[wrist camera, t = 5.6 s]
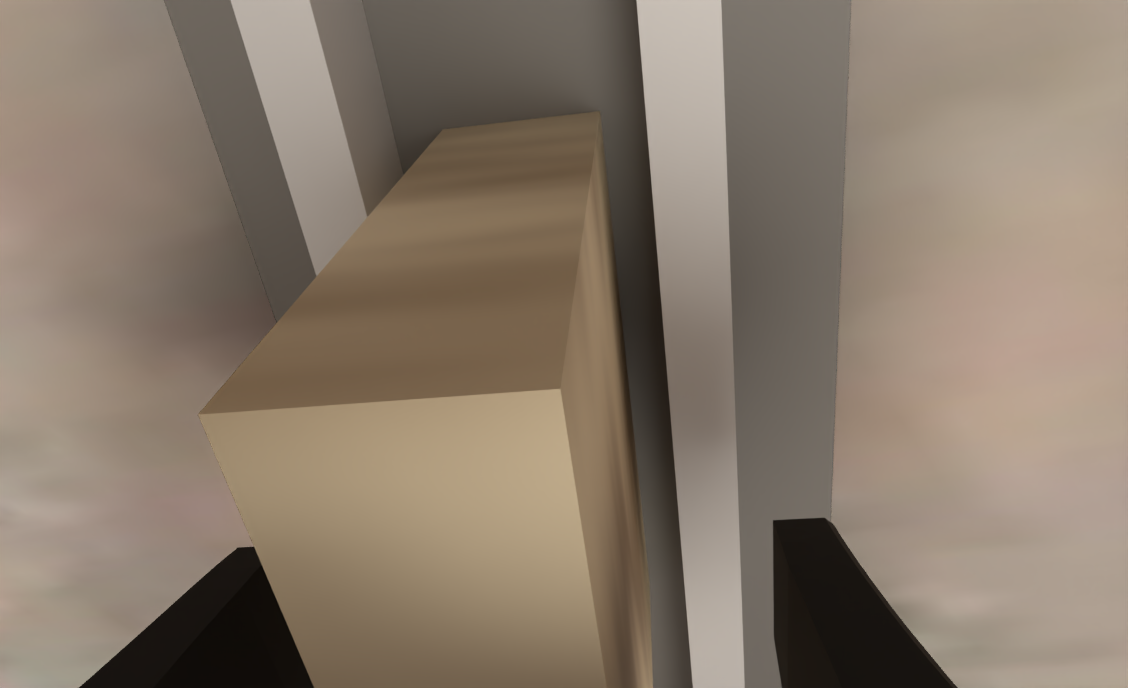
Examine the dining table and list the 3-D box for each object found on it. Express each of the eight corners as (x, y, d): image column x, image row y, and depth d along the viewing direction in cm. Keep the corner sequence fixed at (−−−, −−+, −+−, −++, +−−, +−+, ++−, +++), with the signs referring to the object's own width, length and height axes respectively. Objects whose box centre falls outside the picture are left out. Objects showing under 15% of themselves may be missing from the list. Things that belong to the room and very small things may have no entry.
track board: (812, 737, 20) (862, 962, 16) (443, 743, 22) (396, 953, 17) (851, -569, 9) (1062, -1022, 5) (69, -393, 10) (-344, -619, 6)
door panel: (649, 581, 17) (665, 1062, 10) (535, 586, 17) (470, 1054, 10) (599, 111, 12) (559, 389, 5) (443, 129, 12) (198, 414, 5)
